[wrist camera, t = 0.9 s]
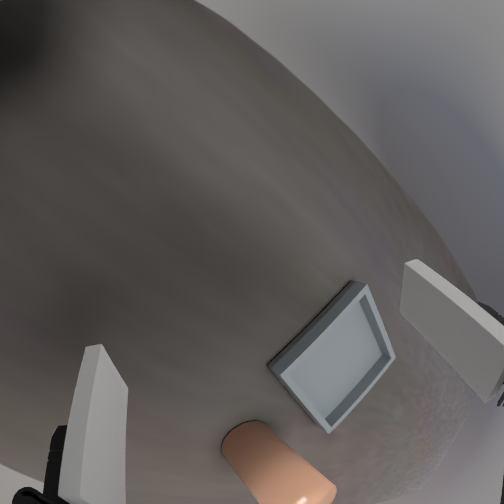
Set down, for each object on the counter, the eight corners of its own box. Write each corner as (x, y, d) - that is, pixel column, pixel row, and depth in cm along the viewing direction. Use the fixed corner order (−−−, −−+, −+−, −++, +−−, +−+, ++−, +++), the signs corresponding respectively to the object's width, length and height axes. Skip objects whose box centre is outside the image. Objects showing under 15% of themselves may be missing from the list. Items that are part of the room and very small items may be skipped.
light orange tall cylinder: (210, 448, 29) (266, 522, 19) (253, 411, 31) (322, 475, 21) (241, 469, 32) (296, 533, 21) (279, 436, 34) (344, 492, 23)
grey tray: (266, 365, 31) (279, 375, 29) (351, 280, 36) (367, 283, 34) (316, 425, 36) (328, 434, 34) (382, 352, 41) (395, 357, 39)
